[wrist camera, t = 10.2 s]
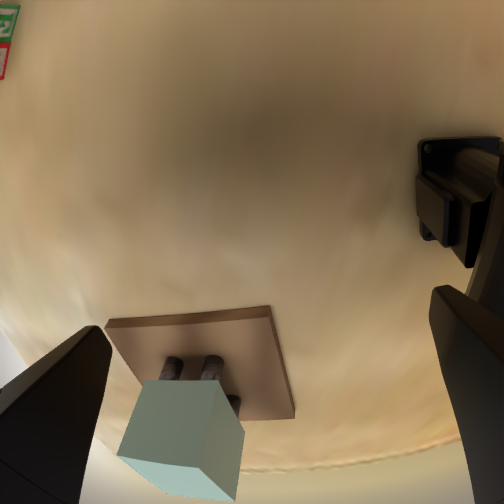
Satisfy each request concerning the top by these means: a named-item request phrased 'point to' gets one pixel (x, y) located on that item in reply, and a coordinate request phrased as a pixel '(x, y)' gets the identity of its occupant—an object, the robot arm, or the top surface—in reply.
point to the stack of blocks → (6, 32)
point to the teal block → (185, 439)
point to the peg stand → (212, 356)
